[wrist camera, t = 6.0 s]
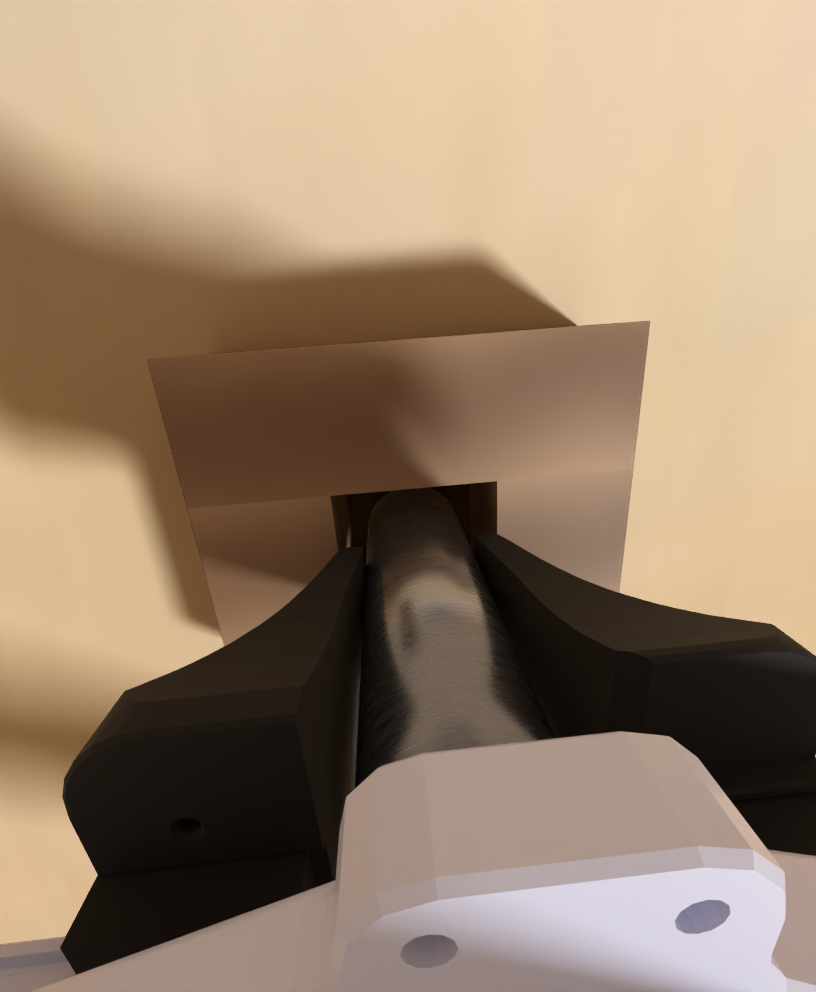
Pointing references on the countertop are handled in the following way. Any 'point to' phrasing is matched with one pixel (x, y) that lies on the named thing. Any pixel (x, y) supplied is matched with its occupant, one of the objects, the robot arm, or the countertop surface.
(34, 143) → the countertop surface
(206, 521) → the wooden square frame
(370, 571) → the steel pin
